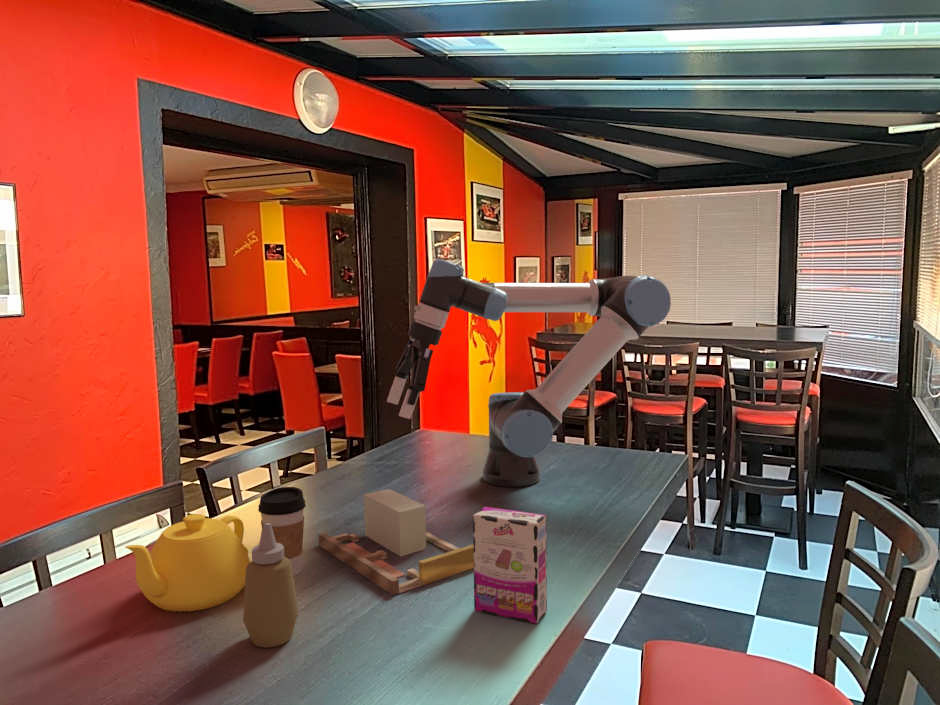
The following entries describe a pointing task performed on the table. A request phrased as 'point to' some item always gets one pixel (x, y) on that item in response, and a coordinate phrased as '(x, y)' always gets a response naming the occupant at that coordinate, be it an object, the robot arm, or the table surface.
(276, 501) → the coffee cup
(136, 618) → the table surface
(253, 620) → the squeeze bottle
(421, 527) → the brick
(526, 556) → the candy bar box
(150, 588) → the teapot
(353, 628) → the table surface
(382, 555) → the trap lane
